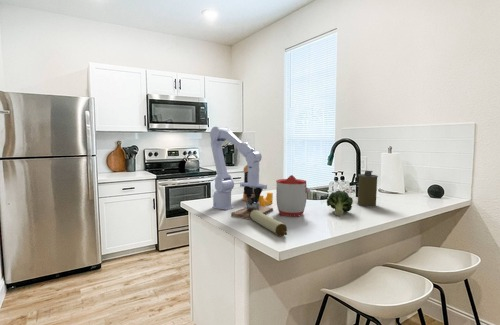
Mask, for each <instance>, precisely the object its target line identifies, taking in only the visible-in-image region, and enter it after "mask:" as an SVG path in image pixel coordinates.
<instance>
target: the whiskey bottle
mask: <svg viewBox="0 0 500 325" xmlns="http://www.w3.org/2000/svg"><path fill="white" fill-rule="evenodd" d="M252 148H253V149H254V151H256V150H255V148H254V147H252ZM243 174H244V175H243V176H244V178H243V181H244V182H243V183H248V165H247V164H246V165H245V166H244V167H243ZM244 188H245V187H243V189H244ZM254 189H256V188H252V195H251V196H254V194H255V193H254ZM242 201H243V202H247V195H246V193H245V191H244V190H243V194H242Z"/></svg>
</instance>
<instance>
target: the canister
mask: <svg viewBox="0 0 500 325" xmlns="http://www.w3.org/2000/svg"><path fill="white" fill-rule="evenodd" d="M373 172H374V170H365V171H364V174H363V173H361V174H360V173H358V174H357V175H356V176H357V180H356V186H357V203H356V204H357V206H359V207H363V208H364V207H366V208H375V207H377V193H378V192H377V190H378V189H377V188H378V177H379V176H378V175H377V174H372V173H373Z"/></svg>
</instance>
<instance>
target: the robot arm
mask: <svg viewBox="0 0 500 325" xmlns="http://www.w3.org/2000/svg"><path fill="white" fill-rule="evenodd" d="M209 136H210V147H211V151H212V155H213V160H214V164H215V170H216V174H217V175H216V176H215V178H214V182H215V183H214V188H215V190H216V191H214V193H213V196H212V197H213V198H212V200H213V201H212V202H213V204H212V208H213V209H219V210H226V211H228V210H230V209H232V208H234V207H235V205H232V191H233V189H234V187H235V183H234V181H233V178H232V176H231V175H230V174H229V173H228V170H227V165H226V161H225V156H224V152H223V146H222V145H223V143H224V142H226V141H229V142H230V143H231V144H233V145H234V147H237V151H238V153H240V154H241V155H242V156H243V157H244V158H245V161H246V165H248V183H244V182H240V184H239V187H242V188H243V192H244V191H245V193H246V195H247V199H248V197H251V195H252V188H256V189H254V193H255V203H257V202H258V200H259V197H260V195H262V192H263V190H267V189H268V185H267V184H263V183H260V162H261V160H262V154H261V152H260V151H258V150H255V151H254V149H255V148H254V147H251V146H250V145H249V143H248V142H247V141H246V142H245V141H241V140H240V139H239V138H238V137H237V136H236V134H234V132H232V130H231V129H230V128H229V127H227V126H213V127H212V128H211V130H210V132H209ZM253 148H254V149H253ZM244 187H245V188H244Z"/></svg>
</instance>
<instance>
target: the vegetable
mask: <svg viewBox="0 0 500 325" xmlns="http://www.w3.org/2000/svg"><path fill="white" fill-rule="evenodd" d="M353 201H354V200H353V198H352V197H351V196H350V195H349V193H348V192H346V191H341V190H336V191H335V192H331V193H329V195H328V198H327V200H326V206H327V207H329V206H330V207H331V208H332V210H334V215H336V216H338V217H340V216H343V214H344V213H348V212H350V211H351V210H352V208H353V206H352V204H353V203H354V202H353Z"/></svg>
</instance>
